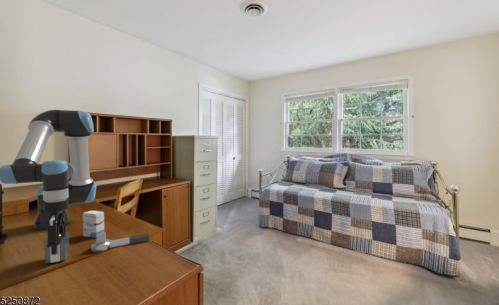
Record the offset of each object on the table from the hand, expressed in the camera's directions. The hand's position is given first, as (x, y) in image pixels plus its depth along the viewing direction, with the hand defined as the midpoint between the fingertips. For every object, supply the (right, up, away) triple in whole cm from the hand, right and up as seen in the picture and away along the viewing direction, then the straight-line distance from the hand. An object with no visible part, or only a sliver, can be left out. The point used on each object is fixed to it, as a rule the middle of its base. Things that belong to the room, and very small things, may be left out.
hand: (58, 257), depth 88 cm
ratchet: (+18, 0, +13) cm, 22 cm away
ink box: (-2, 0, +23) cm, 23 cm away
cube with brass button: (0, 0, 0) cm, 0 cm away
